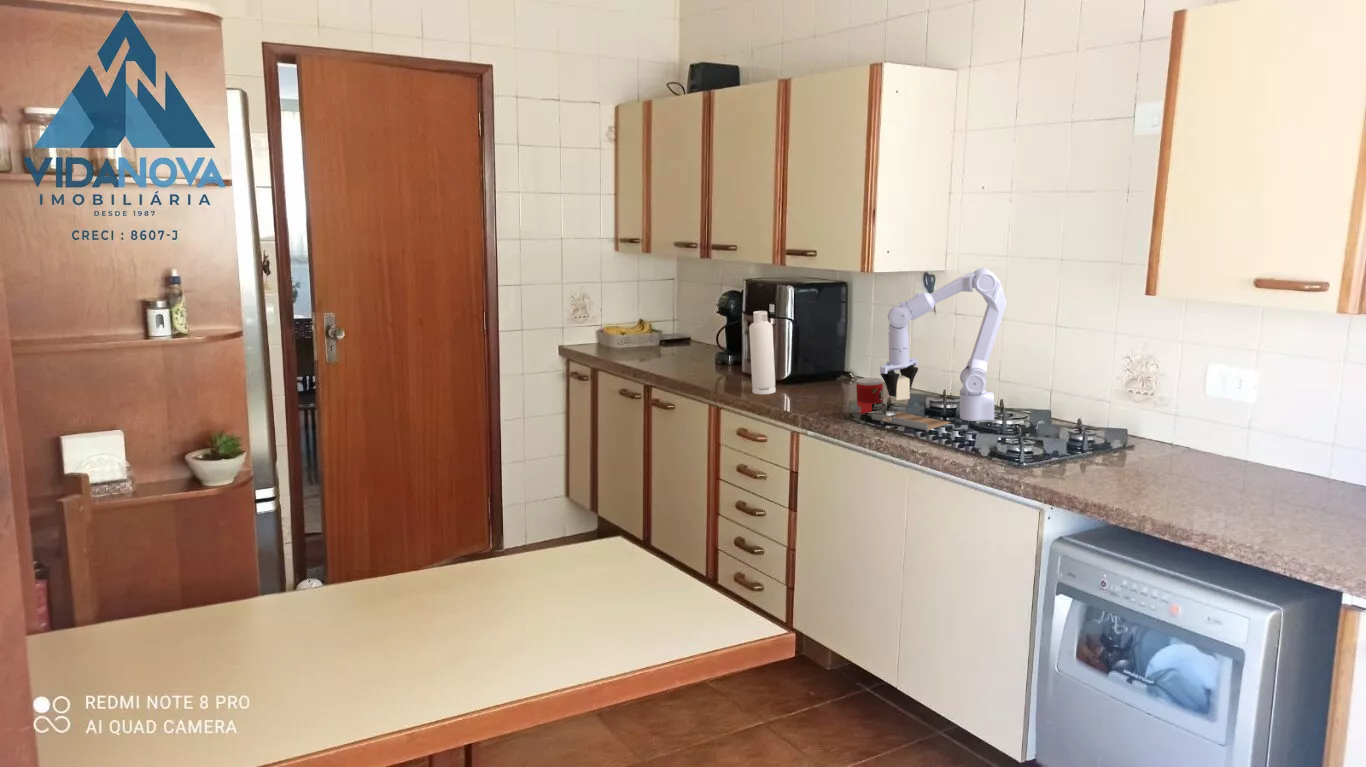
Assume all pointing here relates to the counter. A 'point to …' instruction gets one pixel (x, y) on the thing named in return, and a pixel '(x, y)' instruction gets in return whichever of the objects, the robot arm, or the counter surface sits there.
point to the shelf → (910, 420)
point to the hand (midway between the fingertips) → (899, 393)
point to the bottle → (762, 354)
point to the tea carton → (902, 388)
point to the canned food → (869, 394)
